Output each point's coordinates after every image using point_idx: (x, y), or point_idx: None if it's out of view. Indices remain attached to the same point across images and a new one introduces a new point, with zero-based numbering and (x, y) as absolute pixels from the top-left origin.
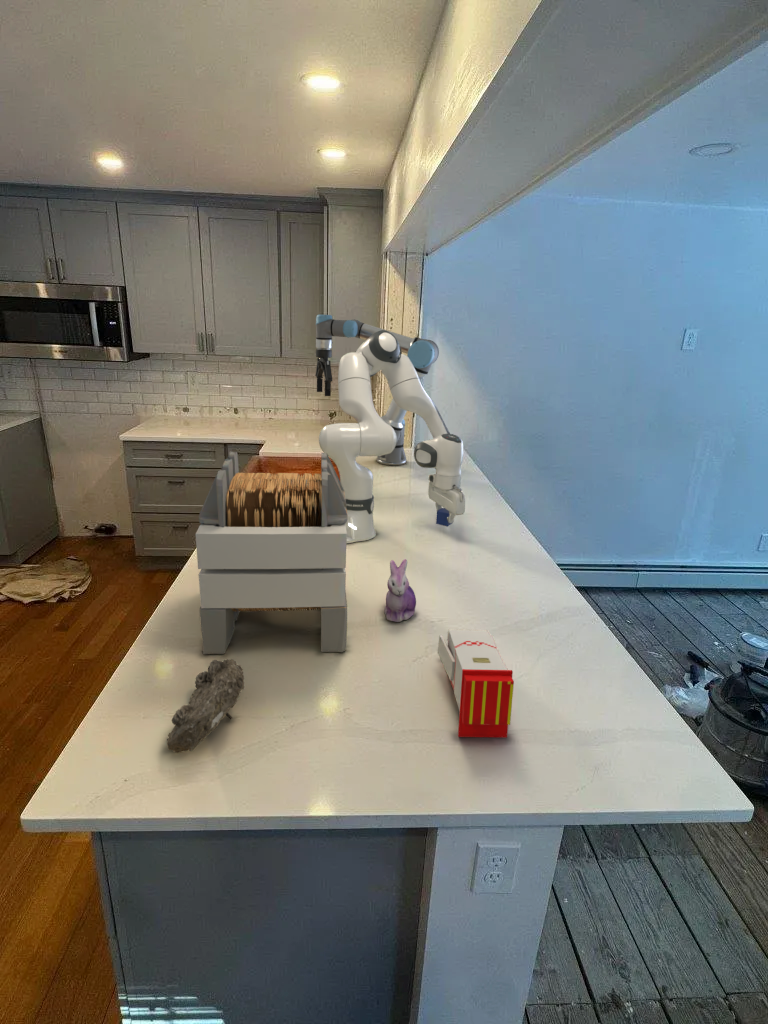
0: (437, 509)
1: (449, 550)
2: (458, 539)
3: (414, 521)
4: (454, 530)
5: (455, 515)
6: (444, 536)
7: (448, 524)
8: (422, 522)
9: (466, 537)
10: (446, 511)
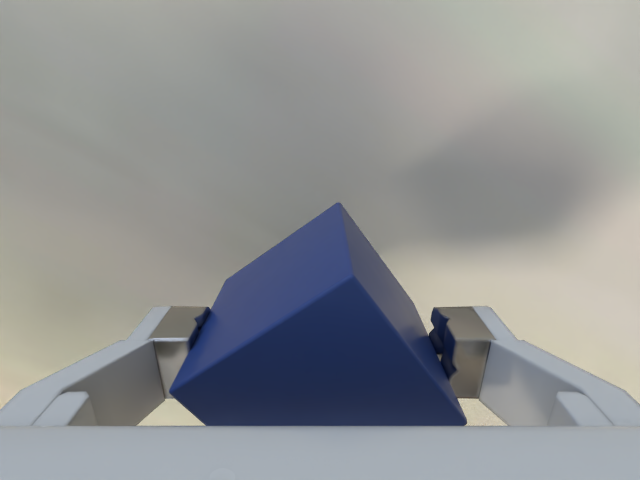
0: (153, 409)
1: (628, 369)
2: (508, 214)
3: (49, 352)
4: (313, 137)
5: (589, 373)
6: (403, 287)
7: (410, 303)
8: (75, 308)
9: (507, 118)
10: (364, 413)
